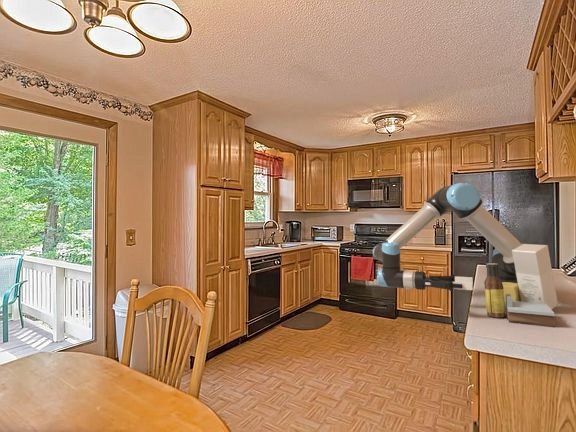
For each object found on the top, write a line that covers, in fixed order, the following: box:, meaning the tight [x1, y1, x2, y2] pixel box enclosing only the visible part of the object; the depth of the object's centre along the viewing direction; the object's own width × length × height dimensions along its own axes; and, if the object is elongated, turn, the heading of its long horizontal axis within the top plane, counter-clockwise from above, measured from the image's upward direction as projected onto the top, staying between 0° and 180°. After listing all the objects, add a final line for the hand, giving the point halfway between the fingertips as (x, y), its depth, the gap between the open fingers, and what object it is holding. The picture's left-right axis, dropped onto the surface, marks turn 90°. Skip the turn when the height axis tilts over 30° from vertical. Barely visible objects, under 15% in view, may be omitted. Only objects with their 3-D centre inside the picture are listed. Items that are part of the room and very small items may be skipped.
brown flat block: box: [505, 304, 556, 328], centre depth 121 cm, size 14×13×4 cm
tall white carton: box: [512, 243, 559, 311], centre depth 132 cm, size 9×9×25 cm
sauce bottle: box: [483, 262, 506, 319], centre depth 126 cm, size 6×6×20 cm
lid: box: [505, 294, 556, 317], centre depth 121 cm, size 15×13×4 cm
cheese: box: [502, 282, 521, 302], centre depth 139 cm, size 10×11×10 cm
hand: (472, 283), depth 130 cm, fingers open, 13 cm apart
